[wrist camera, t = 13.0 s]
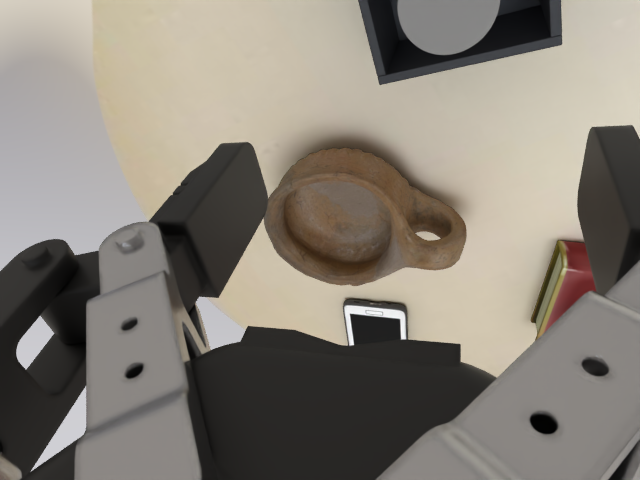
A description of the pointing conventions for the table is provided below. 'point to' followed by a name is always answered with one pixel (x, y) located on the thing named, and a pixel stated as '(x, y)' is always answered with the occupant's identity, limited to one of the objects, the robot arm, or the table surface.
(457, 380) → the robot arm
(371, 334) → the cell phone
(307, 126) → the table surface
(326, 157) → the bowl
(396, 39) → the bin
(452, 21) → the container
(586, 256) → the hardcover book
